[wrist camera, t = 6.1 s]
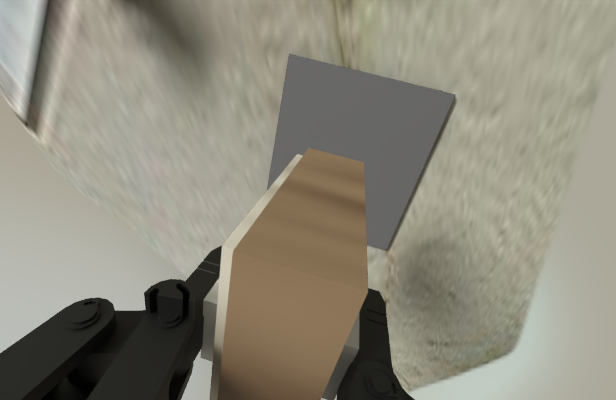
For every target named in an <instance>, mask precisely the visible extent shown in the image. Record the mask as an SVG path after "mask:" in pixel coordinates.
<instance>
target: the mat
mask: <svg viewBox="0 0 616 400" xmlns="http://www.w3.org/2000/svg"><path fill="white" fill-rule="evenodd" d="M454 97H455V94H451V93H447V92H443V91H439V90H435V89H430V88H426V87H422V86H418V85H414V84H410V83H406V82H402V81H398V80H394V79H390V78H386V77H381V76H377V75H373V74H369V73H365V72H361V71H357V70H353V69H349V68H345V67H341V66H336V65H332V64H328V63H324V62H320V61H316V60H312V59H308V58H304V57H300V56H296V55H292V54H289V57H288V64H287V70H286V76H285V82H284V88H283V94H282V101H281V107H280V113H279V119H278V125H277V132H276V138H275V144H274V150H273V156H272V162H271V169H270V175H269V181H268V187H267V190H268V189H269V188H270V187H271V185H272V184H273V183H274V182H275V180H276V179H277V178H278V177H279V176H280V174H281V173H282V172H283V171H284V170H285V168H286V167H287V166H288V165H289V163H290V162H291V161H292V160H293V159H294V157H295V156H296V155H297V154H299V155H304V154H305V152H306V151H307V149H308V148H312V149H315V150H319V151H323V152H327V153H330V154H334V155H338V156H342V157H346V158H349V159H353V160H357V161H361V162H364V174H365V206H366V238H367V245H370V246H374V247H377V248H381V249H384V250H387V248H388V245H389V243H390V241H391V239H392V236H393V234H394V232H395V230H396V227H397V225H398V223H399V221H400V218H401V216H402V214H403V212H404V210H405V207H406V205H407V203H408V201H409V198H410V196H411V194H412V192H413V189H414V187H415V185H416V183H417V180H418V178H419V176H420V174H421V171H422V169H423V167H424V165H425V162H426V160H427V158H428V156H429V153H430V151H431V149H432V147H433V144H434V142H435V140H436V138H437V135H438V133H439V131H440V129H441V126H442V124H443V122H444V120H445V117H446V115H447V113H448V111H449V108H450V106H451V104H452V102H453V100H454Z"/></svg>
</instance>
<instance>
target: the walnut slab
mask: <svg viewBox="0 0 616 400" xmlns="http://www.w3.org/2000/svg"><path fill="white" fill-rule="evenodd" d="M367 293H368V270H367V238H366V206H365V174H364V162H361V161H357V160H353V159H349V158H346V157H342V156H338V155H334V154H330V153H327V152H323V151H319V150H315V149H312V148H308V149H307V151H306V152H305V154H304V155H299V154H297V155H296V156H295V157H294V159H293V160H292V161H291V162H290V163H289V165H288V166H287V167H286V168H285V170H284V171H283V172H282V173H281V174H280V176H279V177H278V178H277V179H276V180H275V182H274V183H273V184H272V185H271V187H270V188H269V189H268V190H267V191H266V193H265V194H264V195H263V196H262V197H261V199H260V200H259V201H258V202H257V204H256V205H255V206H254V207H253V208H252V210H251V211H250V212H249V213H248V214H247V216H246V217H245V218H244V219H243V221H242V222H241V223H240V224H239V225H238V227H237V228H236V229H235V230H234V232H233V233H232V234H231V235H230V236H229V238H228V239H227V240H226V241H225V242H224V244H223V245H222V251H221V264H220V277H219V289H218V302H217V314H216V327H215V340H214V352H213V365H212V378H211V390H210V400H321V397H322V395H323V393H324V391H325V388H326V386H327V384H328V382H329V379H330V377H331V375H332V372H333V370H334V368H335V366H336V363H337V361H338V359H339V357H340V354H341V352H342V350H343V348H344V345H345V343H346V341H347V338H348V336H349V334H350V332H351V329H352V327H353V325H354V323H355V320H356V318H357V316H358V314H359V311H360V309H361V307H362V304H363V302H364V300H365V298H366V295H367Z"/></svg>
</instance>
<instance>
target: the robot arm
mask: <svg viewBox="0 0 616 400" xmlns="http://www.w3.org/2000/svg"><path fill="white" fill-rule="evenodd" d="M221 251H222V246H220V247H218V248H216V249H214V250H213V251H211V252H210V253H209V254H208V256H207V257H206V258H205V259H204V261H203V262H202V263H201V264H200V265H199V266H198V268H197V269H196V270H195V271H194V272H193V273H192V274H191V275H190V277H189V278H188V279H187V280H186V281H182V280H176V279H173V280H172V279H170V280H165V281H161V282H159V283H157V284H155V285H153V286H151V287H150V288H149V289H148V290H147V291H146V292H145V293H144V296H145V306H146V310H143V311H115V310H114V306H113V304H112V303H111V302H110V301H108V300H107V299H102V298H89V299H85V300H81V301H78V302H75V303H73V304H72V305H70V306H68V307H66V308H64V309H63V310H62V311H60V312H59V313H57V314H56V315H54V316H53V317H51V318H50V319H49V320H47V321H46V322H45V323H43V324H42V325H40V326H39V327H37V328H36V329H34V330H33V331H32V332H30V333H29V334H27V335H26V336H24V337H23V338H22V339H20V340H19V341H17V342H16V343H14V344H13V345H12V346H10V347H9V348H7V349H6V350H4V351H3V352H2V353H0V400H181V398H182V395H183V393H184V390H185V388H186V386H187V383H188V381H189V378H190V376H191V373H192V368H193V361H194V360H195V358H196V356H197V355H198V353H199V351H200V350H201V358H203V359H206V360H209V361H212V362H213V352H214V340H215V327H216V314H217V302H218V289H219V277H220V264H221ZM336 395H337V400H414V399H413V398H412V397H411V396H409V395H408V394H407V393H406V392H405V390H404V389H403V388H402V387H401V385H400V383H399V381H398V379H397V377H396V375H395V374H394V372H393V368H392V362H391V353H390V343H389V334H388V327H387V317H386V306H385V302H384V300H383V298H382V296H381V294H380V292H379V291H376V290H372V289H369V288H368V293H367V295H366V298H365V300H364V302H363V304H362V307H361V309H360V311H359V314H358V316H357V318H356V320H355V323H354V325H353V327H352V329H351V332H350V334H349V336H348V338H347V341H346V343H345V345H344V348H343V350H342V352H341V354H340V357H339V359H338V361H337V363H336V366H335V368H334V370H333V372H332V375H331V377H330V379H329V382H328V384H327V386H326V388H325V391H324V393H323V395H322V397H321V398H324V399H327V400H334V399H335V397H336Z"/></svg>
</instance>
